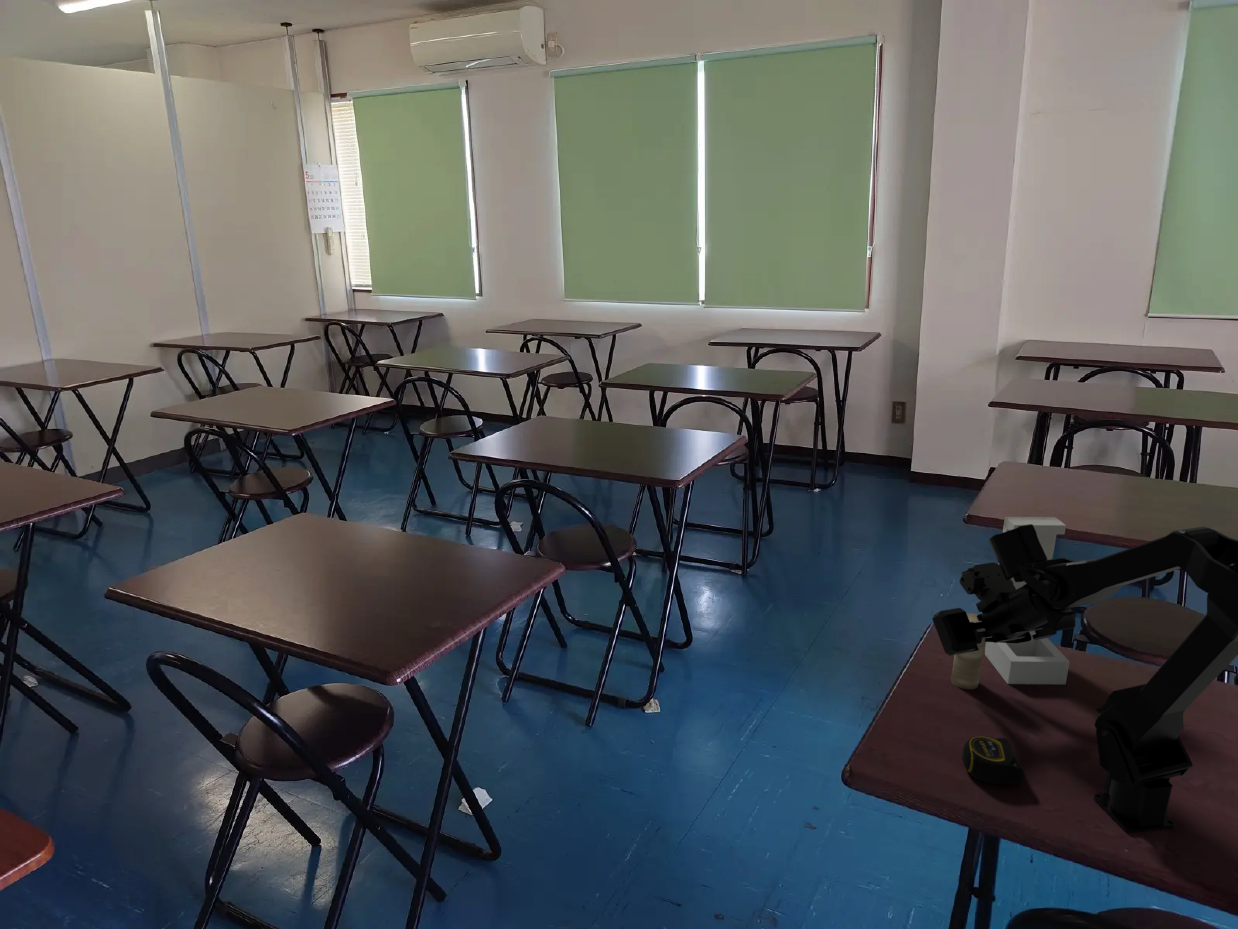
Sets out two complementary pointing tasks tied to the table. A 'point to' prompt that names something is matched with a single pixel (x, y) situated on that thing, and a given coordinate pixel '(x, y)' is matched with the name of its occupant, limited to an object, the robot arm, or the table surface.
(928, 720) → the table surface
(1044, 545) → the white holder stand
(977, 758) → the tape measure
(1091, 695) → the table surface
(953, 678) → the peg
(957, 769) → the table surface
